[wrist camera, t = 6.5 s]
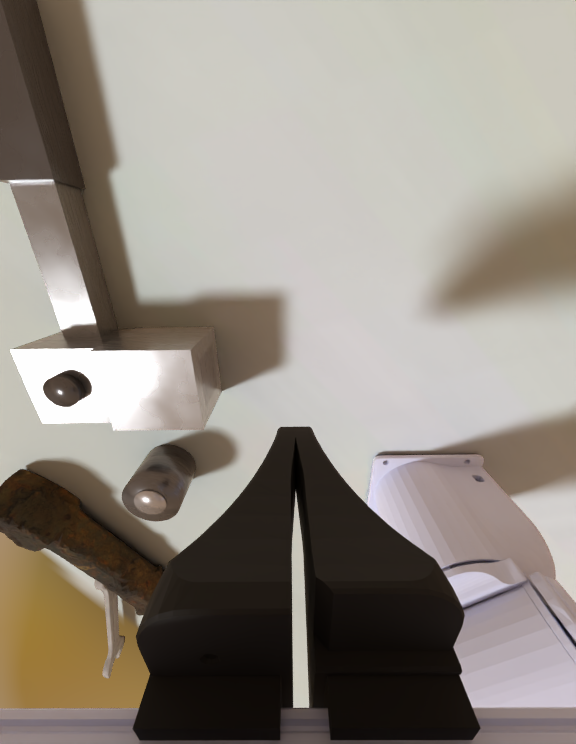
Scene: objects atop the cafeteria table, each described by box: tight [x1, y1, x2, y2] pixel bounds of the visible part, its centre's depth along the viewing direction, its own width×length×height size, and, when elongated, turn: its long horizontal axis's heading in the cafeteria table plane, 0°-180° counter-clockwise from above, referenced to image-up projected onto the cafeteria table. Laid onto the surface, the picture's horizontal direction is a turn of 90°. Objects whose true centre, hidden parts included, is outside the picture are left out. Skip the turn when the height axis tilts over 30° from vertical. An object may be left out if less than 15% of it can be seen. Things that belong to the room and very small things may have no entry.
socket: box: [122, 445, 196, 521], centre depth 23 cm, size 4×4×4 cm
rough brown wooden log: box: [0, 469, 163, 615], centre depth 26 cm, size 19×4×5 cm, turn 29°
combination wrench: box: [95, 579, 125, 678], centre depth 32 cm, size 4×1×20 cm
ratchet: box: [0, 0, 132, 423], centre depth 15 cm, size 9×22×5 cm, turn 1°
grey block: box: [88, 327, 222, 430], centre depth 18 cm, size 6×5×5 cm
